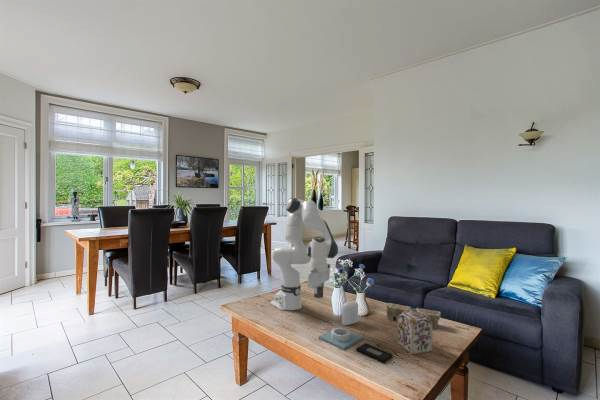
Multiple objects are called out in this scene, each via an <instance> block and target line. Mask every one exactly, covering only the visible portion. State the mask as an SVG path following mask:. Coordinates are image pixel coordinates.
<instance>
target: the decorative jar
mask: <svg viewBox="0 0 600 400" xmlns="http://www.w3.org/2000/svg"><path fill="white" fill-rule="evenodd" d="M396 331H397V337H396V339H397V341H396V342H397V344H398V345H399V346H401V347H402V348H403V349H405V350H406V352H409V354H410V355H419V354H424V353H429V351H430V352H432V351H433V329H432V322H431V320H430V319H429V317H428V316H427V315H426V314H424V313H422V312H420V311H419V310H417V309H416V308H411V309H410V310H409V311H404V312H403V313H401V314H400V315H399V316H398V321H397V330H396Z"/></svg>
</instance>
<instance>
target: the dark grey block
mask: <svg viewBox="0 0 600 400" xmlns="http://www.w3.org/2000/svg"><path fill="white" fill-rule="evenodd" d="M317 290H318V293H317V294H314V293H313V297H314V298H315V299H323V298H324V287H323V285H318V286H317Z"/></svg>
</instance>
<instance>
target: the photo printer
mask: <svg viewBox="0 0 600 400" xmlns="http://www.w3.org/2000/svg"><path fill="white" fill-rule="evenodd" d="M358 322H359V303H358V302H357V301H355V300H350V301H347V302H345V303H343V304H342V306H341V324H342V325H343V326H349V325H352V324H357V323H358Z"/></svg>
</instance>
